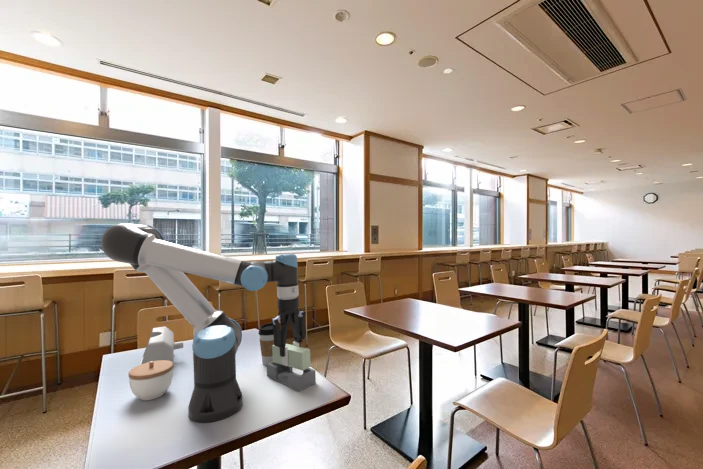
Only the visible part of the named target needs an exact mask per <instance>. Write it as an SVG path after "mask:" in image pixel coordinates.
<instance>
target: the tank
mask: <svg viewBox="0 0 703 469" xmlns="http://www.w3.org/2000/svg"><path fill="white" fill-rule="evenodd" d="M174 334H175V333H174V332H173V331H172V330H171V329H170V328H168V327H167V326H166V325H165V326H158V327H153V328H152V330H151V333H150V336H149V339H148V341H147V344H146V347H145V349H144V352H143V354H142V355H143V356H142V357H141V360H140V363H141V362H142V363H141V364H144V363H147V362H150V361H158V360H168V361H171V362H173V363H174V351H175V350H180V349H184V341H178V342H175V341H174V340H175V339H174V338H175V337H174V336H175V335H174Z"/></svg>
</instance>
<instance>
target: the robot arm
mask: <svg viewBox="0 0 703 469" xmlns="http://www.w3.org/2000/svg"><path fill="white" fill-rule="evenodd" d="M100 247H101V249H102V252H103V253H104V254H105V256H107V257H108V258H109V259H111V260H113V261H116V262H119V263H124V264H125V263H126V264H130V266H131V267H132V268H133V269H134V271H136V272H137V273H139V272H140V273H143V274H146V276H147V277H148V278H149V279H150V280H151V281H152V282H153V284H155V286H156V287H157V288H158V289H159V291H161V293H162V294H163V295H164V296H165V297H166V299H168V301H169V302H170V303H171V304H172V305H173V306H174V307H175V308H176V309H177V311H178V312H179V313H180V314H181V315H182V316H183V318H184V319H185V320H186V321H187V322H188V323H189V324H190V326H191V327H192V328H193V331H192V332H193V333H192V335H193V340H192V346H191V347H192V356H193V357H192V360H193V385H194V386H193V390H192V394H191V396H190V397H191V398H190V400H189V403H188V407H187V408H188V414H187V416H188V417H189V419H190V420H192V421H194V422H197V423H211V422H212V423H213V422H216V421H217V422H218V421H221V420H224V419H227V418H229V417H231V416H232V415H235V413H237V412H239V410H241V408H242V407H243V405H244V404H243V403H244V399H243V398H244V396H243V392H242V390H241V388H240V385H239V383H238V380H237V368H236V367H237V365H236V360H237V359H236V354H237V352H238V349H239V347H240V345H241V342H242V340H243V331H242V327H241V325H240V324H239V323H238V321H236V320H234V319H233V318H230V317H228V315H227V313H225V311H223V310H217V309H216V308H214V306H213V305H212V304H211V303H210V301H209V300H207V299H208V298H206V297H205V296H204V294H202V292H201V291H200V290H199V289H198V287H197V286H196V285H195V284H194V283H193V282H192V281H191V280H190V278H189V277H188V276H187V274H189V275H194V276H198V277H202V278H207V279H211V280H216V281H219V282H224V283H228V284H232V285H235V286H240V287H243V288H245V289H246V290H247V291H250V292H254V291H255V292H256V291H259V290H260V289H263V288H264V287H265V286H266V283H274V282H276V296H277V298H278V299H277V310H278V313H277V316H276V317H272V318H271V320H270V321H271V323H272V324H273V333H274V346H276V347H279V348H280V356H281V357H282V365H285V366H288V348H287V347H286V344H287V337H288V330H289V327H291V331H292V334H293V339H294V341H292V345H294V346H298V347H302V345H301V344H302V343H303V340H304V339H305V337H306V331H305V330H306V324H305V322H306V321H305V319H306V314H307V313H306V312H305V311H303V310H300V309H299V307H300V298H299V295H300V294H299V291H300V289H299V268H298V267H299V266H298V256H297V255H296V254H295V253H282V254H276V256H275V259H273V260H263V261H262V260H260V261H253V260H251V261H244V260H240V259H237V258H232V257H229V256H225V255H220V254H217V253H213V252H209V251H205V250H201V249H196V248H193V247H190V246H186V245H182V244H177V243H173V242H171V241H170V242H169V241H166V240H165V239H164V236H163V234H162V232H160V230H158V228H156V227H154V226H151V225H149V224H146V223H130V222H129V223H128V222H127V223H125V222H124V223H122V222H121V223H117V224H115V225H111V226H110V227H109V228H108V229H106V230H105V231H104V233H103V234H102V236H101V239H100Z"/></svg>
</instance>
